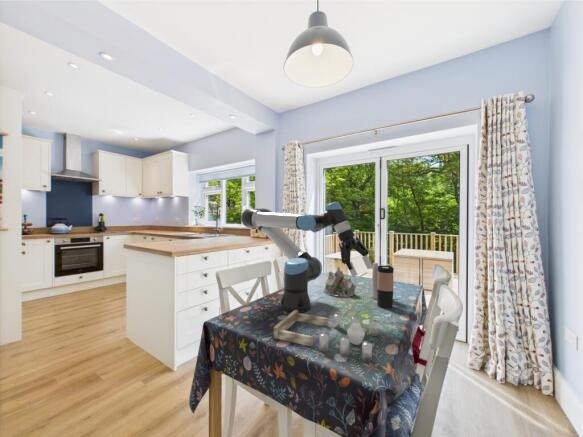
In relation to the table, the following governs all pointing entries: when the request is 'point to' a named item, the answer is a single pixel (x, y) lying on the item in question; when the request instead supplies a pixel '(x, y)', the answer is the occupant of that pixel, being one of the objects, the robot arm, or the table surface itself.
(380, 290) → the travel mug
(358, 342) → the grey faceted vase
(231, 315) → the table surface
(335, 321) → the spacer field
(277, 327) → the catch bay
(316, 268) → the robot arm
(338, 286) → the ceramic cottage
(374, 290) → the candle
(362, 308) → the table surface
